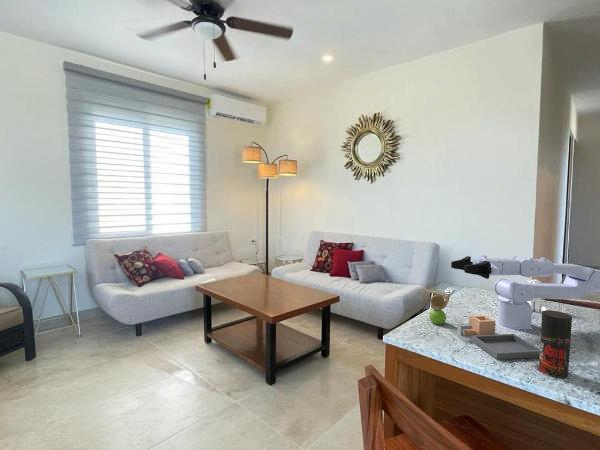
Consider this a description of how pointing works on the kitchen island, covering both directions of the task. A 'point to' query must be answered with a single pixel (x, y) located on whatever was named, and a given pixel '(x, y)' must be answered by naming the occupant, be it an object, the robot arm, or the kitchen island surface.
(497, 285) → the robot arm
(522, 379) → the kitchen island surface
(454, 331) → the slate board
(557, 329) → the deodorant
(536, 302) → the white creature statuette
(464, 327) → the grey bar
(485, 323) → the orange hollow square box
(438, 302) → the green base glass goblet
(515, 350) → the tray
